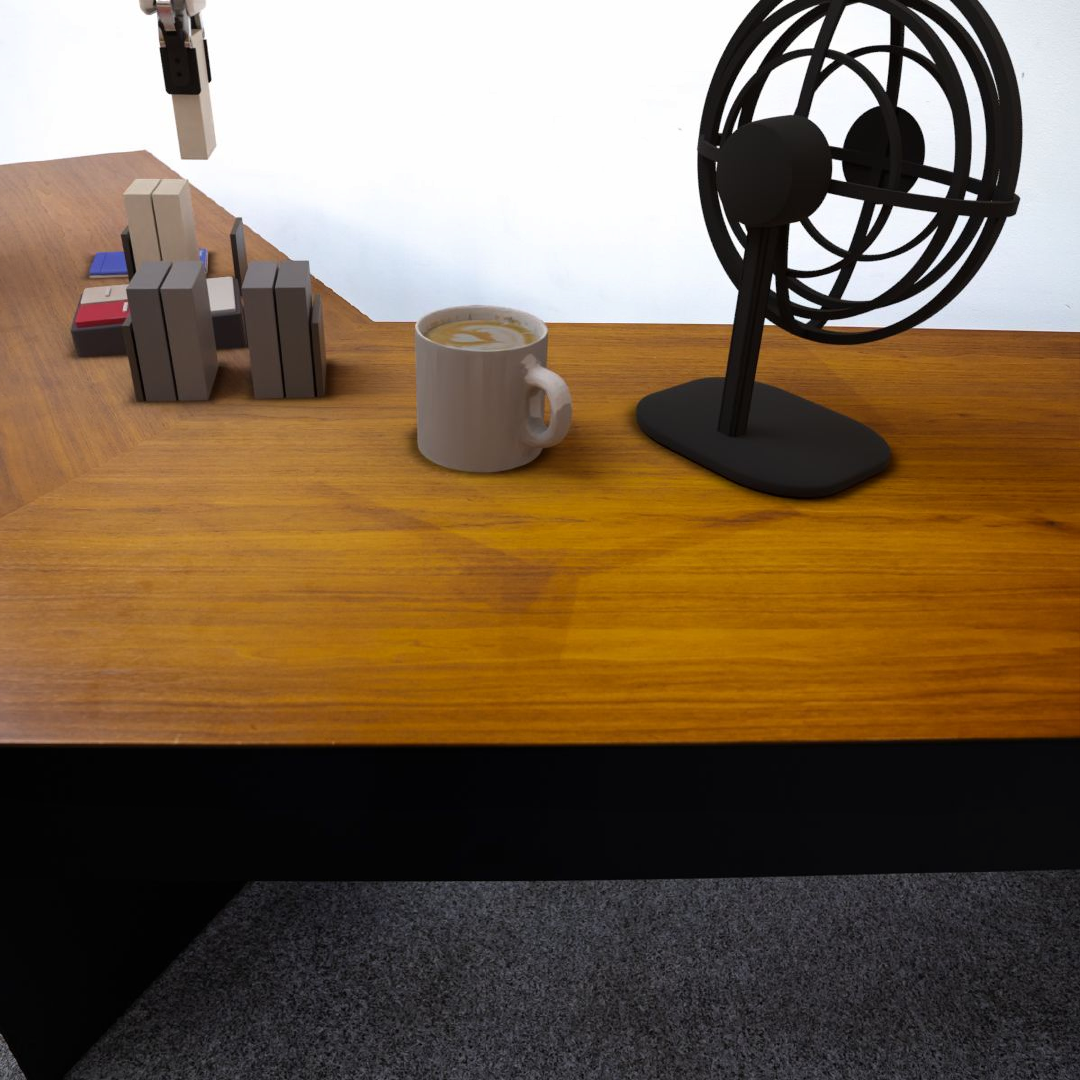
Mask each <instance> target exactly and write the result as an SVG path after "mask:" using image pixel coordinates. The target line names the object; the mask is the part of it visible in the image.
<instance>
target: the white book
mask: <svg viewBox="0 0 1080 1080" xmlns="http://www.w3.org/2000/svg"><path fill="white" fill-rule="evenodd" d="M191 38H192V48H196V54H197V61H198V69H199V76H200V84H201V93H200V94H199V95H172V94H170V95H171V100H172V108H173V115H174V120H175V128H176V135H177V141H178V148H179V156H180V160H183V161H184V160H186V161H187V160H188V161H189V160H190V161H191V160H192V161H194V160H195V161H207V160H209V159H210V157H211V156H212V154H213V152H214V151H215V150H216V147H217V139H216V138H217V137H216V131H215V123H214V115H213V107H212V101H211V92H210V83H208V75H207V67H206V60H205V52H204V44H203V36H202V30H201V29H191Z"/></svg>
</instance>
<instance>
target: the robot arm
mask: <svg viewBox="0 0 1080 1080" xmlns="http://www.w3.org/2000/svg"><path fill="white" fill-rule="evenodd" d="M138 3H139V8H140V11H142V12H143V14H145V15H146V16H151V15H154V14H156V18H157V29H158V30H157V34H158V43H159V47H158V48H159V55H160V56H159V57H160V63H161V69H162V77H163V82H164V89H165V93H166V94H167V95H171V94H172V95H199V94H200V93H201V84H200V76H199V69H198V61H197V54H196V48H192V38H191V29H201V30H202V36H203V44H204V52H205V60H206V67H207V75H208V83H209V84H210V83H211V82H212V81H213V80H212V71H211V64H210V63H211V62H210V55H209V47H208V39H206V32H205V27H204V22H203V21H204V20H203V17H202V11H203V10H204V9H205V8H206V5H207V0H138ZM172 95H171V96H172Z"/></svg>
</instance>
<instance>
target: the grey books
mask: <svg viewBox="0 0 1080 1080" xmlns="http://www.w3.org/2000/svg"><path fill="white" fill-rule="evenodd" d="M310 266H311V265H310V260H280V263H279V260H249V263H248V269H247V272H246V276H245V279H244V282H243V285H242V296H241V298H242V306H243V313H244V321H245V330H246V339H247V346H248V354H249V361H250V370H251V371H250V372H251V379H252V386H253V394H254V399H255V400H261V399H264V400H265V399H284V398H286V399H299V398H300V399H302V398H303V399H304V398H306V399H307V398H325V394H326V393H325V392H326V380H327V379H326V377H327V353H326V339H325V329H324V313H323V302H322V294H321V293H314V294H313V290H312V281H311V280H312V279H311V270H310V268H311V267H310ZM206 279H207V274H206V273H205V265H204V261H175V262H174V264H173V263H172V261H143V262H142V264H141V265H140V267H139V269H138V270H137V272H136V273H135V275H134V277H133V278H132V280H131V281H130V283H128V284H129V285H128V286H127V288H126V293H127V299H128V304H129V309H130V313H129V315H128V316H127V318H126V320H125V322H124V323H123V325H122V328H123V334H124V339H125V344H126V349H127V354H126V355H127V360H128V364H129V370H130V374H131V380H132V385H133V386H132V387H133V390H134V397H135V402H137V403H139V402H141V403H142V402H145V401H146V402H176V401H177V400H178V401H181V402H183V401H184V402H185V401H208V400H210V396H211V393H212V389H213V386H214V383H215V380H216V376H217V373H218V369H219V367H220V366H219V360H218V353H217V349H216V344H215V337H214V330H213V323H212V315H211V308H210V301H209V294H208V287H207V280H206Z"/></svg>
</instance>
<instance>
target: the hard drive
mask: <svg viewBox="0 0 1080 1080" xmlns="http://www.w3.org/2000/svg"><path fill="white" fill-rule="evenodd" d="M198 251H199V258H200V261H204V265H205V273H206V275H207V274H208V267H209V265H208V264H209V251H208V248H198ZM88 275H89V279H107V278H108V279H109V278H111V279H112V278H128V272H127V267H126V261H125V256H124V251H104V252H103V251H102V252H101V251H99V252H96V253H95V255H94V258H93V260H92V263H91V266H90V268H89V272H88Z"/></svg>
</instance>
